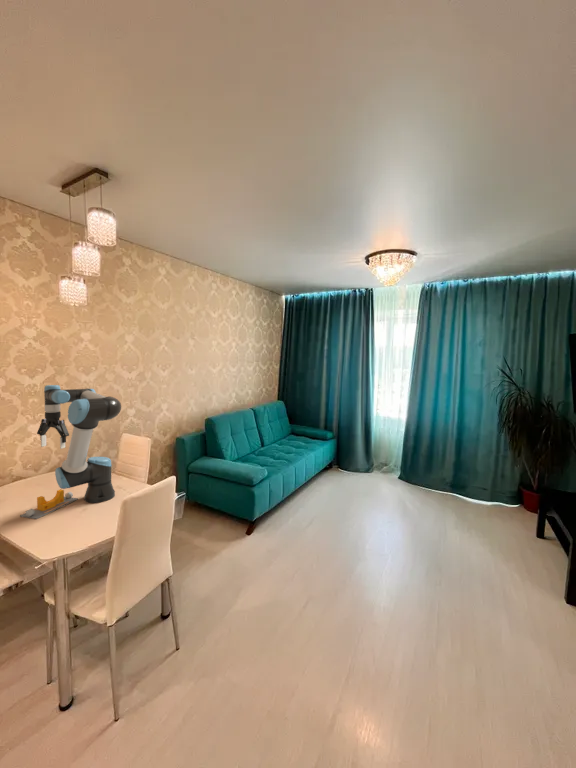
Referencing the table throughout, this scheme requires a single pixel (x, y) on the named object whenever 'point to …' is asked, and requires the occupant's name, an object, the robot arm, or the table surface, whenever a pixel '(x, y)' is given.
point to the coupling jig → (37, 513)
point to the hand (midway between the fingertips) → (53, 447)
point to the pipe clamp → (45, 505)
